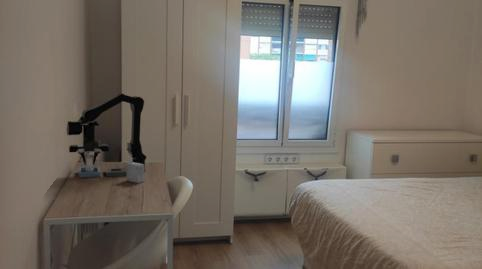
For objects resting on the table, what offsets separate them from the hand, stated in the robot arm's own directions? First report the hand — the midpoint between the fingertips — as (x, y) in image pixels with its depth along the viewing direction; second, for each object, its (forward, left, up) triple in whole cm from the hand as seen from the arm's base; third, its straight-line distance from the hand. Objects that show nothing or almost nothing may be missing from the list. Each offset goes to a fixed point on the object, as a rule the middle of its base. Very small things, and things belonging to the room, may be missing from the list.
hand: (89, 165), depth 222 cm
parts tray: (0, 0, -5) cm, 5 cm away
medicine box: (-21, +17, -5) cm, 28 cm away
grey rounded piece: (0, 0, -3) cm, 3 cm away
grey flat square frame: (-13, 0, -5) cm, 14 cm away
